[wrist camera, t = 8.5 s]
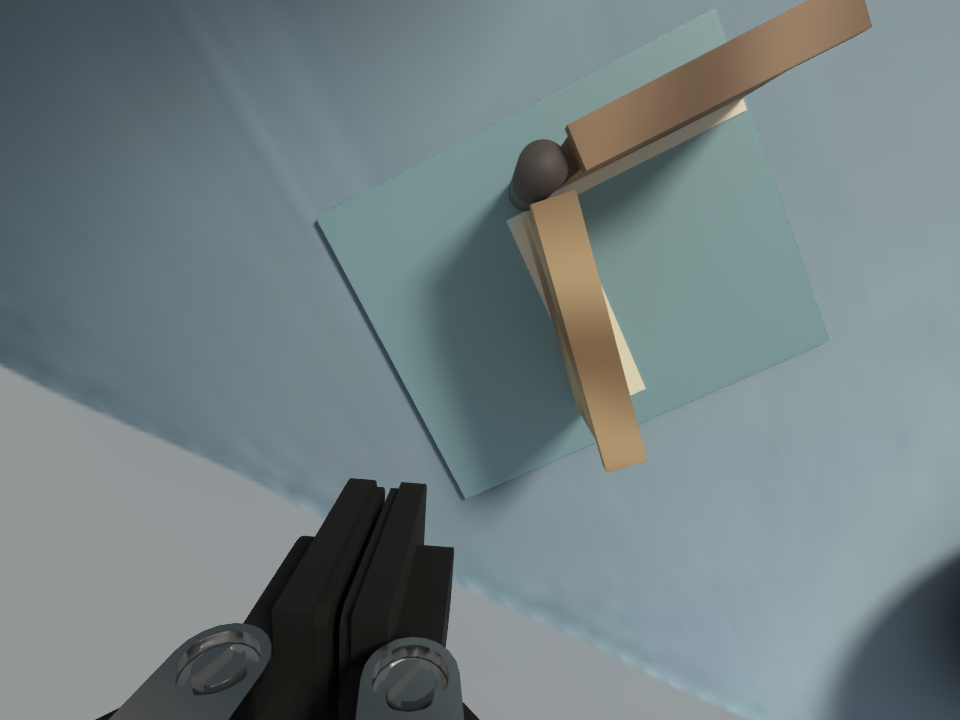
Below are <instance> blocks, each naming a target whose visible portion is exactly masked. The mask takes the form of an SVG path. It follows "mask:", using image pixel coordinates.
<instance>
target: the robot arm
mask: <svg viewBox="0 0 960 720" xmlns="http://www.w3.org/2000/svg"><path fill="white" fill-rule="evenodd" d="M426 492H427V487H426V484H418V483H405V482H401V484H400V487H399V489H397V488H391V489H390V492H389V494H388V496H387V499H386V501H385V489H384V487H377V483H376V480H366V479H353V478H350V479H349V480H348V482H347V484H346V485H345V487H344V489H343V491H342V492H341V494H340V496H339V497H338V499H337V501H336V502H335V504H334V506H333V507H332V509H331V511H330V512H329V514H328V516H327V517H326V519H325V521H324V523H323V524H322V526H321V528H320V530H319V531H318V533H317V534H316V536H315V537H311V536H302V537H300V538H299V539H298V540H297V541H296V543H295V544H294V546H293V547H292V549H291V550H290V552H289V553H288V555H287V557H286V558H285V560H284V561H283V563H282V564H281V566H280V567H279V569H278V570H277V572H276V574H275V575H274V577H273V578H272V580H271V581H270V583H269V584H268V586H267V587H266V589H265V591H264V592H263V594H262V595H261V597H260V598H259V600H258V602H257V603H256V605H255V606H254V608H253V609H252V611H251V612H250V614H249V615H248V617H247V619H246V620H245V622H244V623H243V624H240V623H233V624H226V625H220V626H217V627H214V628H211V629H208V630H205V631H203V632H201V633H199V634H198V635H196V636H194V637H192V638H190V639H189V640H187V641H186V642H185V643H184V644H182V645H181V646H180V647H179V648H178V649H177V650H175V651H174V652H173V653H172V655H170V657H169V658H168V659H167V660H166V661H165V662H164V663H163V664H162V665H161V666H160V667H159V668H158V669H157V670H156V671H155V672H154V673H153V674H152V675H151V676H150V677H149V678H148V679H147V680H146V682H144V683H143V685H141V687H140V688H139V689H138V690H137V691H136V692H135V693H134V694H133V695H132V696H131V697H130V698H129V699H128V700H127V701H126V702H125V703H124V704H123V705H122V706H121V707H120V708H118V709H116V710H114V711H112V712H110V713H108V714H106V715H104V716H102V717H100V718H98V719H96V720H479V719H478V718H477V717H476V715H475V714H474V713H473V712H472V711H471V710H470V709H469V708H468V707H467V706H466V705H465V704H464V703H463V702H462V692H461V682H460V673H459V669H458V666H457V662H456V660H455V659H454V657H453V656H452V654H451V653H450V652H449V651H448V650H447V649H446V639H447V630H448V621H449V612H450V601H451V589H452V575H453V560H454V548H453V547H440V546H427V545H424V533H425V513H426Z"/></svg>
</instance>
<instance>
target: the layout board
mask: <svg viewBox="0 0 960 720" xmlns="http://www.w3.org/2000/svg"><path fill="white" fill-rule="evenodd" d="M726 42H727V40H726V37H725V34H724V31H723V28H722V25H721V22H720V19H719V16H718V13H717V11H716V8H713V9H712V10H710V11H708V12H706V13H704V14H702V15H700V16H698V17H696V18H694V19H693V20H691V21H689V22H687V23H685V24H683V25H681V26H679V27H677V28H675V29H674V30H672V31H670V32H668V33H666V34H664V35H662V36H660V37H658V38H656V39H655V40H653V41H651V42H649V43H647V44H645V45H643V46H641V47H639V48H637V49H635V50H634V51H632V52H630V53H628V54H626V55H624V56H622V57H620V58H618V59H616V60H615V61H613V62H611V63H609V64H607V65H605V66H603V67H601V68H599V69H597V70H596V71H594V72H592V73H590V74H588V75H586V76H584V77H582V78H580V79H578V80H577V81H575V82H573V83H571V84H569V85H567V86H565V87H563V88H561V89H559V90H558V91H556V92H554V93H552V94H550V95H548V96H546V97H544V98H542V99H540V100H538V101H537V102H535V103H533V104H531V105H529V106H527V107H525V108H523V109H521V110H519V111H518V112H516V113H514V114H512V115H510V116H508V117H506V118H504V119H502V120H500V121H499V122H497V123H495V124H493V125H491V126H489V127H487V128H485V129H483V130H481V131H480V132H478V133H476V134H474V135H472V136H470V137H468V138H466V139H464V140H462V141H461V142H459V143H457V144H455V145H453V146H451V147H449V148H447V149H445V150H443V151H442V152H440V153H438V154H436V155H434V156H432V157H430V158H428V159H426V160H424V161H422V162H421V163H419V164H417V165H415V166H413V167H411V168H409V169H407V170H405V171H403V172H402V173H400V174H398V175H396V176H394V177H392V178H390V179H388V180H386V181H384V182H383V183H381V184H379V185H377V186H375V187H373V188H371V189H369V190H367V191H365V192H364V193H362V194H360V195H358V196H356V197H354V198H352V199H350V200H348V201H346V202H345V203H343V204H341V205H339V206H337V207H335V208H333V209H331V210H329V211H327V212H326V213H324V214H322V215H320V216H318V217H316V219H317V221H318V223H319V225H320V227H321V229H322V231H323V232H324V234H325V236H326V238H327V240H328V242H329V244H330V246H331V247H332V249H333V251H334V253H335V255H336V257H337V259H338V261H339V263H340V264H341V266H342V268H343V270H344V272H345V274H346V276H347V278H348V279H349V281H350V283H351V285H352V287H353V289H354V291H355V293H356V294H357V296H358V298H359V300H360V302H361V304H362V306H363V308H364V309H365V311H366V313H367V315H368V317H369V319H370V321H371V323H372V324H373V326H374V328H375V330H376V332H377V334H378V336H379V338H380V339H381V341H382V343H383V345H384V347H385V349H386V351H387V353H388V354H389V356H390V358H391V360H392V362H393V364H394V366H395V368H396V369H397V371H398V373H399V375H400V377H401V379H402V381H403V383H404V384H405V386H406V388H407V390H408V392H409V394H410V396H411V398H412V399H413V401H414V403H415V405H416V407H417V409H418V411H419V413H420V414H421V416H422V418H423V420H424V422H425V424H426V426H427V428H428V430H429V431H430V433H431V435H432V437H433V439H434V441H435V443H436V445H437V446H438V448H439V450H440V452H441V454H442V456H443V458H444V460H445V461H446V463H447V465H448V467H449V469H450V471H451V473H452V475H453V476H454V478H455V480H456V482H457V484H458V486H459V488H460V490H461V491H462V493H463V495H464V497H465V499H468V498H470V497H472V496H474V495H477V494H479V493H481V492H484V491H486V490H488V489H490V488H493V487H495V486H497V485H500V484H502V483H504V482H506V481H509V480H511V479H513V478H516V477H518V476H520V475H523V474H525V473H527V472H529V471H532V470H534V469H536V468H539V467H541V466H543V465H545V464H548V463H550V462H552V461H555V460H557V459H559V458H561V457H564V456H566V455H568V454H571V453H573V452H575V451H577V450H580V449H582V448H584V447H587V446H589V445H591V444H593V443H596V440H595V439H594V437H593V435H592V433H591V431H590V430H589V428H588V426H587V424H586V423H585V421H584V419H583V417H582V416H581V414H580V412H579V410H578V409H577V406H576V402H575V399H574V395H573V392H572V388H571V385H570V382H569V378H568V375H567V371H566V368H565V364H564V361H563V357H562V354H561V350H560V347H559V343H558V340H557V336H556V333H555V329H554V326H553V323H552V319H551V316H550V312H549V309H548V305H547V302H546V298H545V295H544V291H543V288H542V284H541V281H540V277H539V274H538V270H537V267H536V264H535V260H534V257H533V253H532V250H531V246H530V243H529V239H528V236H527V232H526V229H525V225H524V222H523V221H524V220H525V219H526V218H528V217H529V216H530V215H531V210H529V211H523V210H520V209H518V208H516V207H515V206H514V205H513V204H512V202H511V201H510V198H509V186H510V183H511V180H512V177H513V173H514V170H515V167H516V164H517V161H518V158H519V155H520V153H521V152H522V150H523V149H524V148H525V147H526V146H527V145H528V144H529V143H531V142H533V141H535V140H540V139H547V140H551V141H554V142H556V143H557V144H559V145H560V146H561V145H562V144H563V142H564V141H565V139H566V138H567V133H566V131H565V128H566V126H567V125H568V124H569V123H571V122H573V121H575V120H577V119H579V118H581V117H583V116H585V115H587V114H589V113H591V112H593V111H595V110H597V109H599V108H600V107H602V106H604V105H606V104H608V103H610V102H612V101H614V100H616V99H618V98H620V97H622V96H624V95H626V94H628V93H630V92H631V91H633V90H635V89H637V88H639V87H641V86H643V85H645V84H647V83H649V82H651V81H653V80H655V79H657V78H659V77H661V76H662V75H664V74H666V73H668V72H670V71H672V70H674V69H676V68H678V67H680V66H682V65H684V64H686V63H688V62H690V61H691V60H693V59H695V58H697V57H699V56H701V55H703V54H705V53H707V52H709V51H711V50H713V49H715V48H717V47H719V46H721V45H722V44H724V43H726ZM572 190H576V192H577V196H578V200H579V203H580V207H581V211H582V215H583V219H584V222H585V226H586V230H587V234H588V238H589V241H590V245H591V249H592V253H593V257H594V260H595V264H596V268H597V272H598V276H599V279H600V283H601V287H602V291H603V295H604V298H605V302H606V306H607V310H608V314H609V317H610V321H611V325H612V329H613V333H614V336H615V340H616V344H617V348H618V352H619V355H620V359H621V363H622V367H623V371H624V374H625V378H626V382H627V386H628V390H629V393H630V397H631V401H632V405H633V409H634V412H635V416H636V420H637V424H639V423H642V422H644V421H646V420H648V419H651V418H653V417H655V416H658V415H660V414H662V413H664V412H667V411H669V410H671V409H674V408H676V407H678V406H680V405H683V404H685V403H687V402H690V401H692V400H694V399H696V398H699V397H701V396H703V395H706V394H708V393H710V392H712V391H715V390H717V389H719V388H722V387H724V386H726V385H728V384H731V383H733V382H735V381H738V380H740V379H742V378H744V377H747V376H749V375H751V374H754V373H756V372H758V371H760V370H763V369H765V368H767V367H770V366H772V365H774V364H777V363H779V362H781V361H783V360H786V359H788V358H790V357H793V356H795V355H797V354H799V353H802V352H804V351H806V350H809V349H811V348H813V347H815V346H818V345H820V344H822V343H825V342H827V341H829V337H828V335H827V332H826V329H825V326H824V323H823V320H822V317H821V314H820V311H819V308H818V305H817V302H816V300H815V297H814V294H813V291H812V288H811V285H810V282H809V279H808V276H807V273H806V270H805V267H804V265H803V262H802V259H801V256H800V253H799V250H798V247H797V244H796V241H795V238H794V235H793V232H792V229H791V227H790V224H789V221H788V218H787V215H786V212H785V209H784V206H783V203H782V200H781V197H780V194H779V192H778V189H777V186H776V183H775V180H774V177H773V174H772V171H771V168H770V165H769V162H768V159H767V157H766V154H765V151H764V148H763V145H762V142H761V139H760V136H759V133H758V130H757V127H756V124H755V121H754V119H753V116H752V113H751V110H750V107H749V104H748V101H747V98H746V96H745V97H743V98H741V99H739V100H737V101H735V102H733V103H731V104H729V105H727V106H725V107H723V108H721V109H719V110H717V111H715V112H713V113H711V114H709V115H707V116H705V117H703V118H701V119H699V120H697V121H695V122H693V123H691V124H689V125H687V126H685V127H683V128H681V129H679V130H677V131H675V132H673V133H671V134H669V135H667V136H665V137H663V138H661V139H659V140H657V141H655V142H653V143H651V144H649V145H647V146H645V147H643V148H641V149H639V150H637V151H635V152H633V153H631V154H629V155H627V156H625V157H623V158H621V159H619V160H617V161H615V162H613V163H611V164H609V165H607V166H605V167H603V168H601V169H599V170H597V171H595V172H593V173H591V174H589V175H587V176H585V177H583V178H581V179H579V180H577V181H575V182H573V183H571V184H569V185H567V186H565V187H563V188H561V189H559V190H557V191H555V192H554V193H552V194H551V195H550V196H549V197H548V198H551V197H554V196H557V195H560V194H563V193H566V192H569V191H572ZM548 198H547V199H548Z"/></svg>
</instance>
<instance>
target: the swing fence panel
mask: <svg viewBox="0 0 960 720" xmlns="http://www.w3.org/2000/svg"><path fill="white" fill-rule="evenodd" d="M529 207H530V210H531V215H530V216H529V217H528V218H526V219H525V220H524V221H523V222H524V225H525V229H526V232H527V236H528V239H529V243H530V246H531V250H532V253H533V257H534V260H535V264H536V267H537V270H538V274H539V277H540V281H541V284H542V288H543V291H544V295H545V298H546V302H547V305H548V309H549V312H550V316H551V319H552V323H553V326H554V329H555V333H556V336H557V340H558V343H559V347H560V350H561V354H562V357H563V361H564V364H565V368H566V371H567V375H568V378H569V382H570V385H571V388H572V392H573V395H574V399H575V402H576V406H577V409H578V410H579V412H580V414H581V416H582V417H583V419H584V421H585V423H586V424H587V426H588V428H589V430H590V431H591V433H592V435H593V437H594V439H595V440H596V443H597V446H598V450H599V453H600V457H601V460H602V464H603V467H604V469H605V470H606V472H611V471H614V470H618V469H621V468H625V467H628V466H632V465H635V464H639V463H643V462H646V461H647V458H646V454H645V450H644V447H643V443H642V439H641V435H640V431H639V428H638V424H637V420H636V416H635V412H634V409H633V405H632V401H631V397H630V393H629V390H628V386H627V382H626V378H625V374H624V371H623V367H622V363H621V359H620V355H619V352H618V348H617V344H616V340H615V336H614V333H613V329H612V325H611V321H610V317H609V314H608V310H607V306H606V302H605V298H604V295H603V291H602V287H601V283H600V279H599V276H598V272H597V268H596V264H595V260H594V257H593V253H592V249H591V245H590V241H589V238H588V234H587V230H586V226H585V222H584V219H583V215H582V211H581V207H580V203H579V200H578V196H577V192H576V190H572V191H569V192H566V193H563V194H560V195H557V196H554V197H551V198H548V199H545V200H542V201H539V202H536V203H533V204H531V205H530V206H529Z"/></svg>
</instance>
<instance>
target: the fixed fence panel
mask: <svg viewBox="0 0 960 720" xmlns="http://www.w3.org/2000/svg"><path fill="white" fill-rule="evenodd" d="M871 27H872V24H871V21H870V17H869V14H868V10H867V7H866V3H865V0H808V1H806V2H804V3H802V4H800V5H798V6H796V7H794V8H792V9H790V10H788V11H786V12H784V13H783V14H781V15H779V16H777V17H775V18H773V19H771V20H769V21H767V22H765V23H763V24H761V25H759V26H757V27H755V28H753V29H752V30H750V31H748V32H746V33H744V34H742V35H740V36H738V37H736V38H734V39H732V40H730V41H728V42H726V43H724V44H722V45H721V46H719V47H717V48H715V49H713V50H711V51H709V52H707V53H705V54H703V55H701V56H699V57H697V58H695V59H693V60H691V61H690V62H688V63H686V64H684V65H682V66H680V67H678V68H676V69H674V70H672V71H670V72H668V73H666V74H664V75H662V76H661V77H659V78H657V79H655V80H653V81H651V82H649V83H647V84H645V85H643V86H641V87H639V88H637V89H635V90H633V91H631V92H630V93H628V94H626V95H624V96H622V97H620V98H618V99H616V100H614V101H612V102H610V103H608V104H606V105H604V106H602V107H600V108H599V109H597V110H595V111H593V112H591V113H589V114H587V115H585V116H583V117H581V118H579V119H577V120H575V121H573V122H571V123H569V124H568V125H567V126H566V128H565V131H566V133H567V138H566V139H565V141H564V142H563V144H562V145H561V146H560V145H559V144H557V143H556V142H554V141H551V140H547V139H540V140H535V141H533V142H531V143H529V144H528V145H527V146H526V147H525V148H524V149H523V150H522V152H521V153H520V155H519V158H518V161H517V164H516V167H515V170H514V173H513V177H512V180H511V183H510V186H509V198H510V201H511V202H512V204H513V205H514V206H515V207H516V208H518V209H520V210H523V211H529V210H530V207H529V206H530V205H531V204H533V203H536V202H539V201H542V200H545V199H547V198H548V197H549V196H550V195H551V194H552V193H554V192H555V191H557V190H559V189H561V188H563V187H565V186H567V185H569V184H571V183H573V182H575V181H577V180H579V179H581V178H583V177H585V176H587V175H589V174H591V173H593V172H595V171H597V170H599V169H601V168H603V167H605V166H607V165H609V164H611V163H613V162H615V161H617V160H619V159H621V158H623V157H625V156H627V155H629V154H631V153H633V152H635V151H637V150H639V149H641V148H643V147H645V146H647V145H649V144H651V143H653V142H655V141H657V140H659V139H661V138H663V137H665V136H667V135H669V134H671V133H673V132H675V131H677V130H679V129H681V128H683V127H685V126H687V125H689V124H691V123H693V122H695V121H697V120H699V119H701V118H703V117H705V116H707V115H709V114H711V113H713V112H715V111H717V110H719V109H721V108H723V107H725V106H727V105H729V104H731V103H733V102H735V101H737V100H739V99H741V98H743V97H745V96H746V95H748V94H750V93H751V92H753V91H755V90H756V89H758V88H760V87H761V86H763V85H764V84H766V83H768V82H769V81H771V80H773V79H774V78H776V77H778V76H779V75H781V74H782V73H784V72H786V71H787V70H789V69H791V68H793V67H795V66H797V65H799V64H801V63H803V62H805V61H807V60H809V59H811V58H813V57H815V56H817V55H819V54H821V53H823V52H825V51H827V50H829V49H831V48H833V47H835V46H837V45H839V44H841V43H843V42H845V41H847V40H849V39H851V38H853V37H855V36H857V35H859V34H861V33H862V32H864V31H866V30H867V29H869V28H871Z"/></svg>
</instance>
